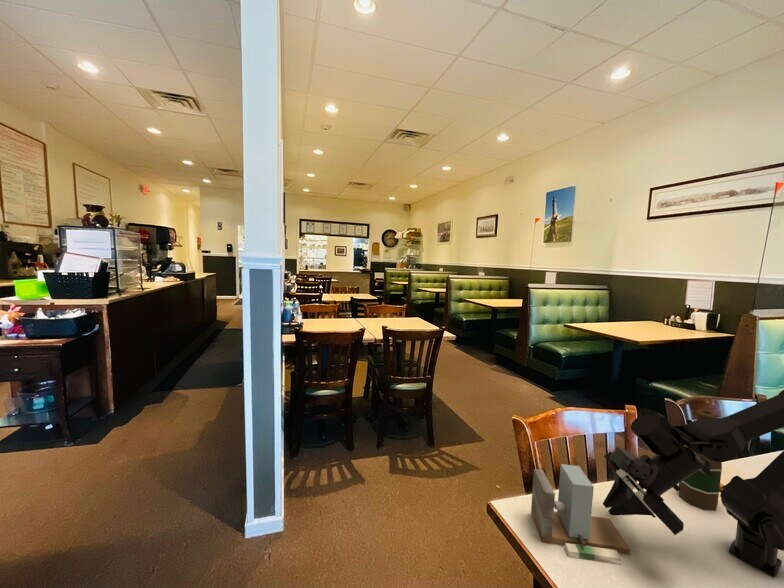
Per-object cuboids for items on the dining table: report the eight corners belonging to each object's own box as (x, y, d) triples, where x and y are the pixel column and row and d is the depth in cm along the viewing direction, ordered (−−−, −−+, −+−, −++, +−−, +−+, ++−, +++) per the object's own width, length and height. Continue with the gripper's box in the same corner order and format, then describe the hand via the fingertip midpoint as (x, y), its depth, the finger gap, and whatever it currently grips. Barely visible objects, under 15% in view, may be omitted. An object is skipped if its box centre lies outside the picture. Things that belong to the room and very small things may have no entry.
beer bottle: (670, 494, 84) (679, 408, 82) (685, 486, 87) (694, 403, 85) (709, 515, 77) (720, 421, 75) (723, 506, 80) (734, 416, 78)
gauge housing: (609, 524, 73) (613, 478, 72) (637, 566, 63) (642, 513, 62) (530, 514, 76) (533, 469, 75) (545, 552, 65) (549, 501, 64)
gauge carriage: (575, 514, 74) (579, 466, 73) (594, 548, 65) (598, 493, 64) (548, 510, 75) (551, 463, 74) (563, 544, 66) (567, 490, 65)
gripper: (615, 419, 76) (564, 457, 79) (672, 467, 58) (602, 514, 60) (648, 453, 76) (595, 490, 78) (715, 512, 57) (644, 558, 60)
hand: (606, 509), depth 69 cm, fingers closed
